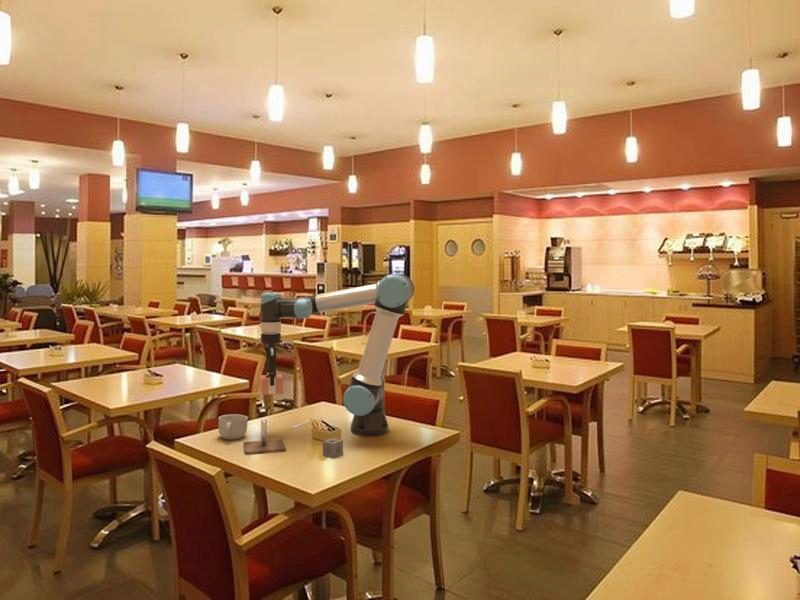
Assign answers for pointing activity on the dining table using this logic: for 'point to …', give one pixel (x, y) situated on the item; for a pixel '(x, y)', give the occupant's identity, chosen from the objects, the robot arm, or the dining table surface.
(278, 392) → the pink upright block
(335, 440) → the dice cube
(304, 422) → the butter knife
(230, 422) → the teacup
